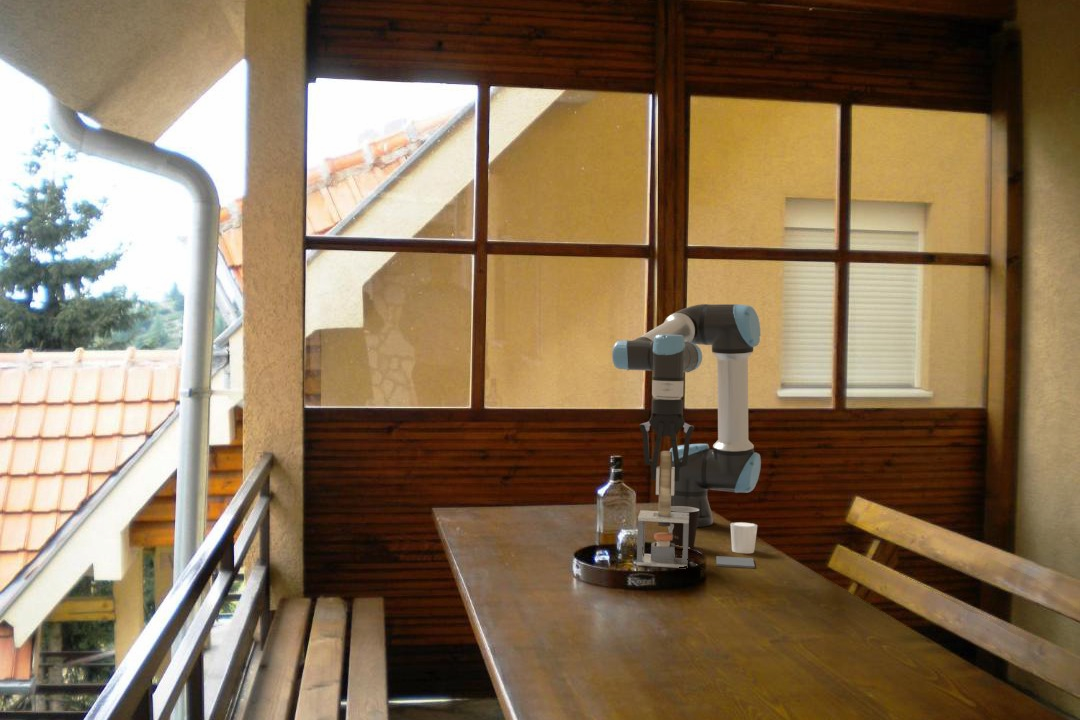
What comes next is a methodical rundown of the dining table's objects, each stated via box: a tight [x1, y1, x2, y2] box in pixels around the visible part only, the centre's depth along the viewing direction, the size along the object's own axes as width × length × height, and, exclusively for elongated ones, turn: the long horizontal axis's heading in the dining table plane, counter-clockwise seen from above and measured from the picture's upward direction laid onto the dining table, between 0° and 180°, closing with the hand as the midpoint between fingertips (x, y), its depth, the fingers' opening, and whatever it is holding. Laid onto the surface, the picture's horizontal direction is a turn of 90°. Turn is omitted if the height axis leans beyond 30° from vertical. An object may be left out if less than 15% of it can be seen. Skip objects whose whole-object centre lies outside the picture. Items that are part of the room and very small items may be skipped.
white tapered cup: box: [730, 521, 758, 554], centre depth 268 cm, size 7×7×7 cm
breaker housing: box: [636, 509, 689, 569], centre depth 252 cm, size 10×12×12 cm
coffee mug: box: [667, 506, 699, 549], centre depth 272 cm, size 12×9×10 cm
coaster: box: [715, 555, 756, 569], centre depth 253 cm, size 9×9×1 cm
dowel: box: [657, 450, 672, 528], centre depth 252 cm, size 3×3×18 cm
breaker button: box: [653, 532, 673, 547], centre depth 252 cm, size 4×4×6 cm
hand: (665, 494), depth 252 cm, fingers closed on dowel, 3 cm apart
